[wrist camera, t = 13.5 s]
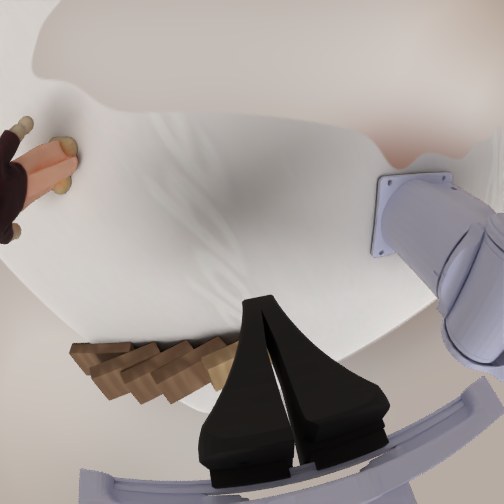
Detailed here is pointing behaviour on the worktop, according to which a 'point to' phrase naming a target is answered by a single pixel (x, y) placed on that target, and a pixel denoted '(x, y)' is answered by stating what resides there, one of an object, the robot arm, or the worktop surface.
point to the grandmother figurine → (31, 174)
